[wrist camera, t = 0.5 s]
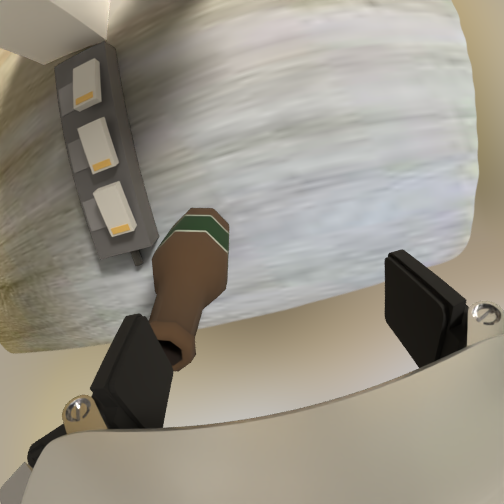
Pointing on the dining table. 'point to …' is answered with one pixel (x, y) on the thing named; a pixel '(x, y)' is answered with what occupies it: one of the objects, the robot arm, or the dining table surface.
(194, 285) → the beer bottle
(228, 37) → the dining table surface
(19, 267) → the dining table surface
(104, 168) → the rocker mid
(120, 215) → the rocker
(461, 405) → the robot arm
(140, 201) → the power strip
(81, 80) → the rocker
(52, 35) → the milk
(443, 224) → the dining table surface
